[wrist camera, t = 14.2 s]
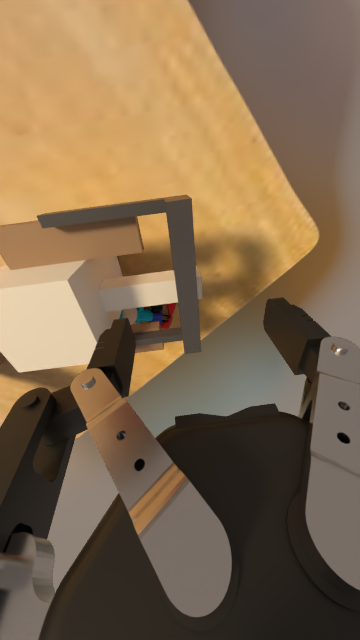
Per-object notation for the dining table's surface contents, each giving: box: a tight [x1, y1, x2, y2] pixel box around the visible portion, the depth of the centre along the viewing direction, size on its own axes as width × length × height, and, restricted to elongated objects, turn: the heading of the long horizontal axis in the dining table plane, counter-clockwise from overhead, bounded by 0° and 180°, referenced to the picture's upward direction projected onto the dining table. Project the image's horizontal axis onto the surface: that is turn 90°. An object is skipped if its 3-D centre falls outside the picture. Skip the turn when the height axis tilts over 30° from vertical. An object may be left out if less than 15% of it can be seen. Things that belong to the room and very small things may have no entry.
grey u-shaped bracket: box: [37, 195, 201, 354], centre depth 21 cm, size 13×16×4 cm
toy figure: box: [119, 303, 176, 329], centre depth 38 cm, size 8×5×15 cm
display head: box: [0, 216, 202, 373], centre depth 27 cm, size 22×18×17 cm
